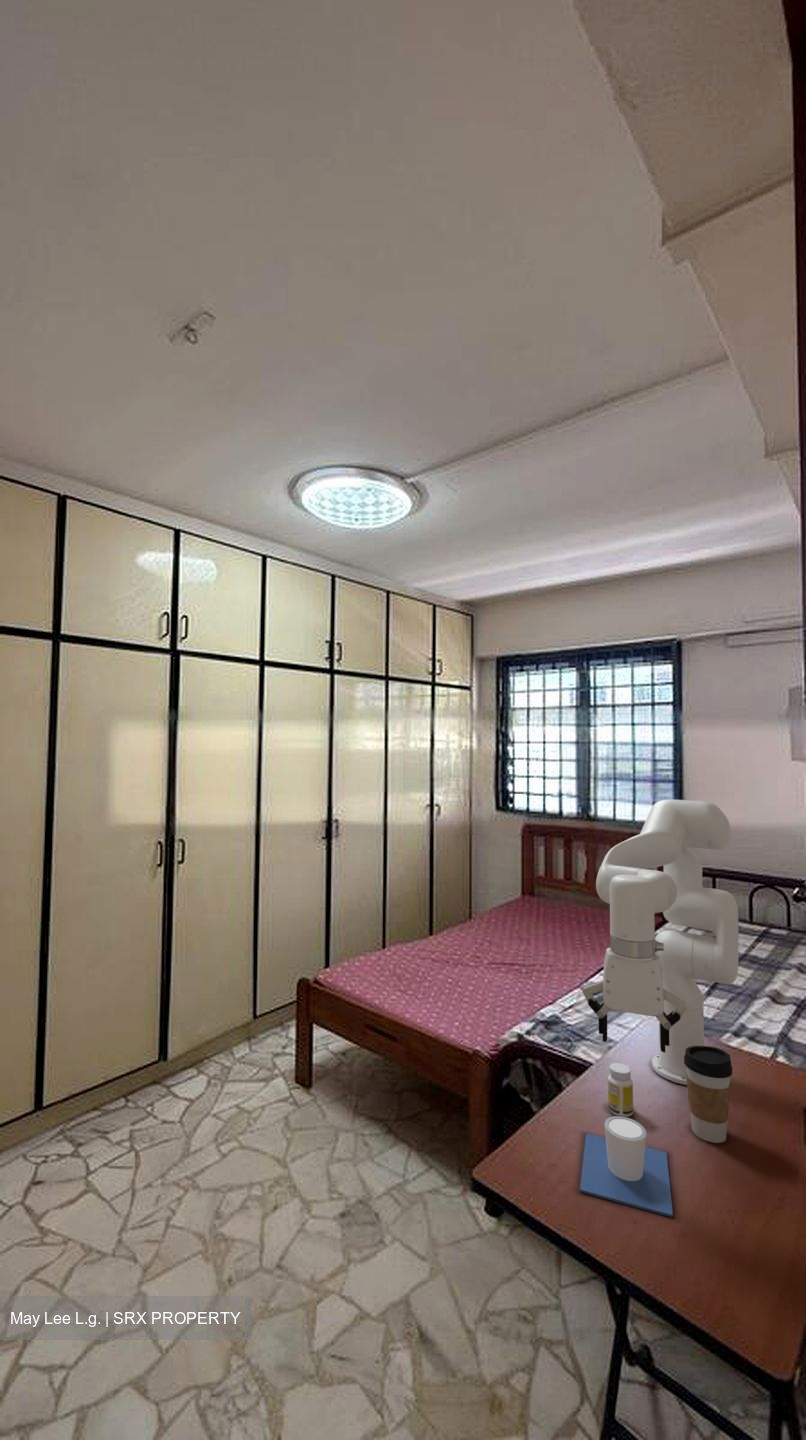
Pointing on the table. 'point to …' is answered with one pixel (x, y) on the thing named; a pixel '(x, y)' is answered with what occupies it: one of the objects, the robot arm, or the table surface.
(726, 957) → the robot arm
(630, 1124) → the white cup
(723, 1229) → the table surface
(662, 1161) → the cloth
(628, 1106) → the supplement bottle
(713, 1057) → the coffee cup
